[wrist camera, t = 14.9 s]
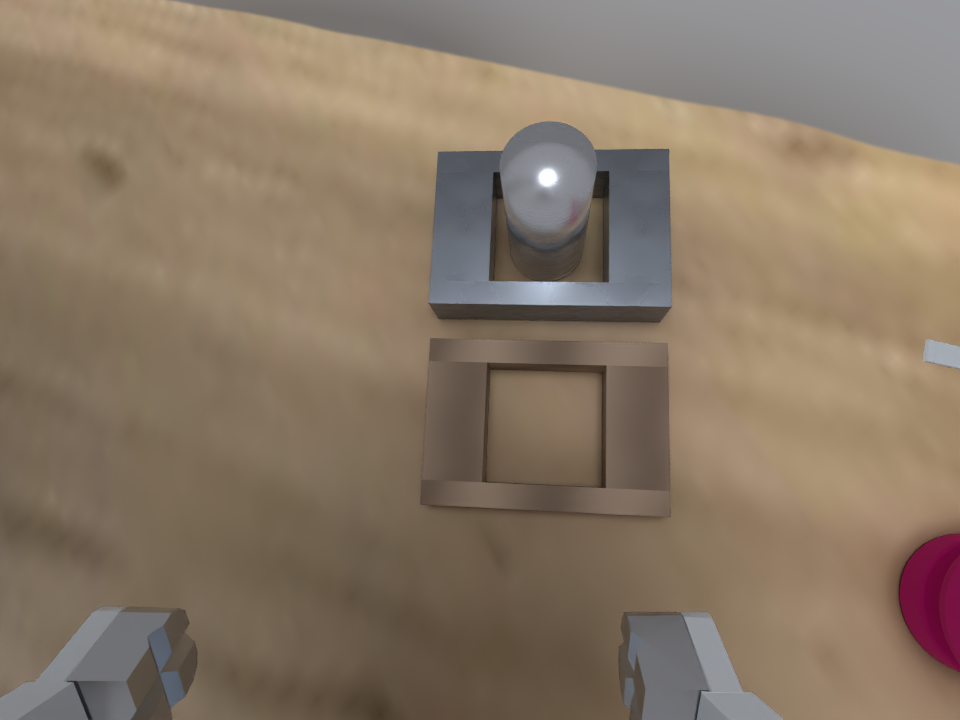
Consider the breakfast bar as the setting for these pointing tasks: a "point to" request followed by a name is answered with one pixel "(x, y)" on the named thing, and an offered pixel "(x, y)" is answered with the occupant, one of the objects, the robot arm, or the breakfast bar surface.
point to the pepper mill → (934, 598)
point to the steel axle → (547, 197)
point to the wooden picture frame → (625, 425)
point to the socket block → (619, 298)
